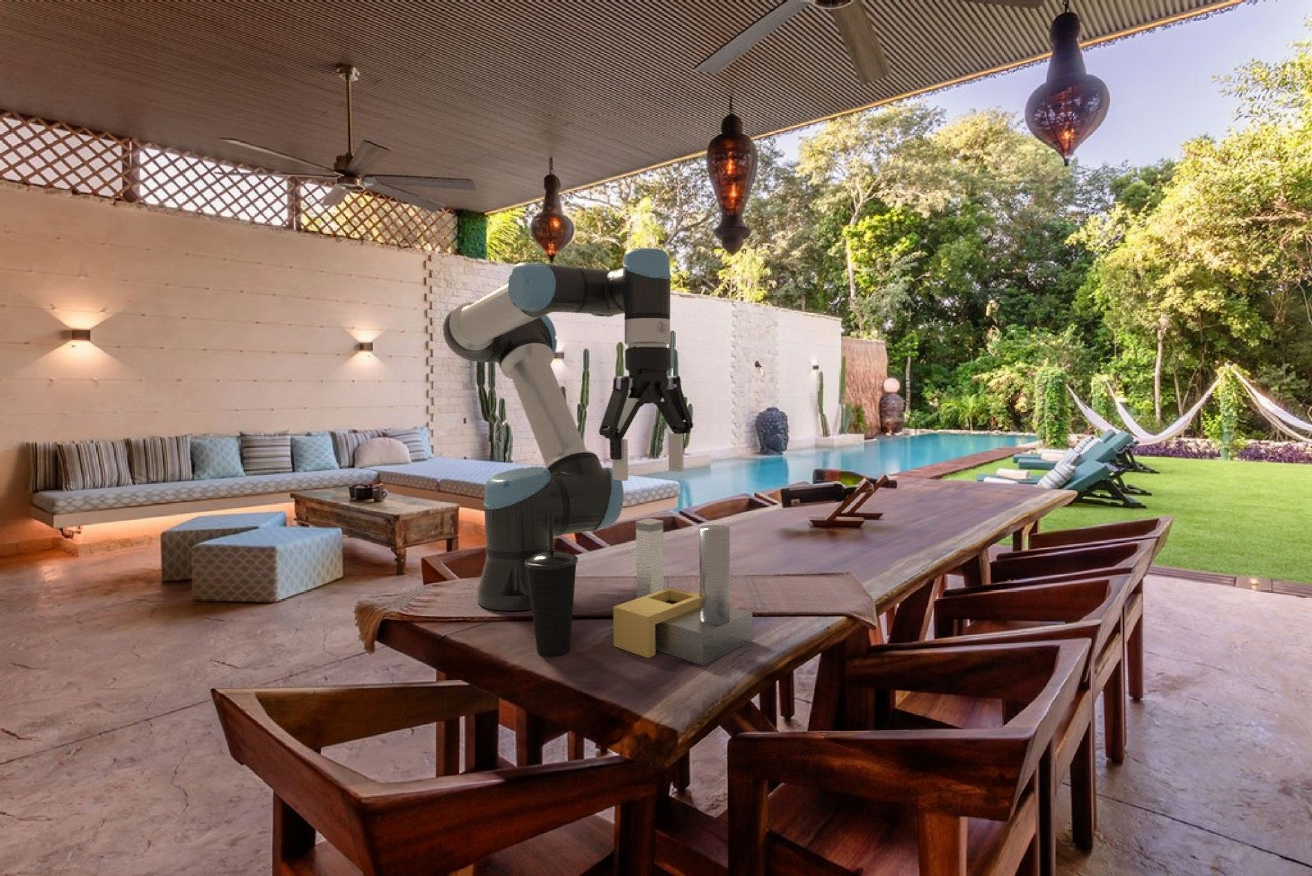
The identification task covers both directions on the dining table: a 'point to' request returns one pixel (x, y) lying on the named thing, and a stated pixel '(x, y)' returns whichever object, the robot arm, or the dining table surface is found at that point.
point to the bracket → (648, 618)
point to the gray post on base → (708, 608)
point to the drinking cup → (552, 597)
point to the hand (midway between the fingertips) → (649, 475)
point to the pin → (649, 556)
